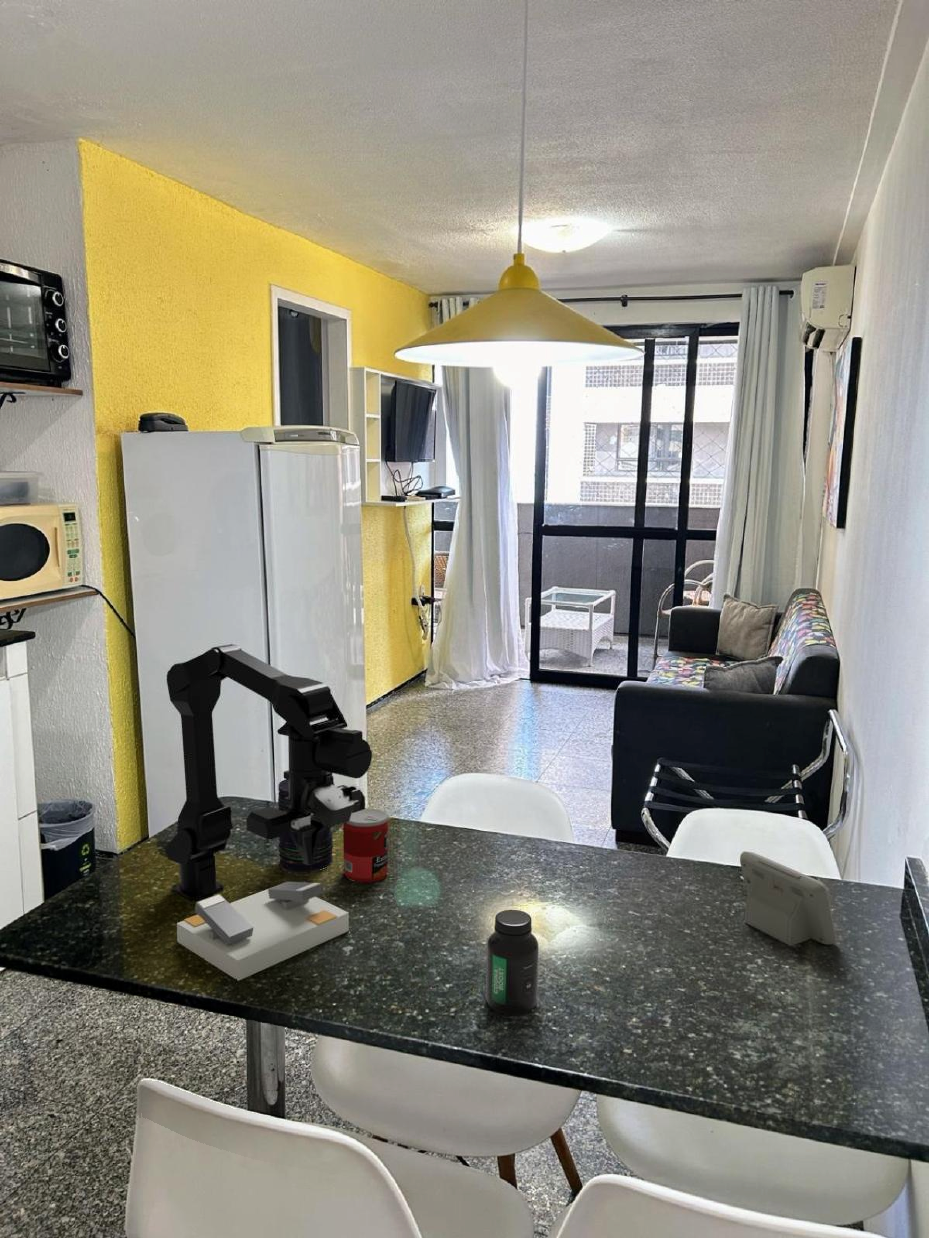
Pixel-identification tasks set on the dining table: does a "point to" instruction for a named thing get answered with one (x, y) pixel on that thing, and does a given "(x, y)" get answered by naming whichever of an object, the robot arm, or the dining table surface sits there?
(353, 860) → the canned food
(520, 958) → the supplement bottle
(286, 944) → the switch base
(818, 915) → the digital clock
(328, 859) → the storage jar
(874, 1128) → the dining table surface
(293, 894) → the rocker
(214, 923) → the block
